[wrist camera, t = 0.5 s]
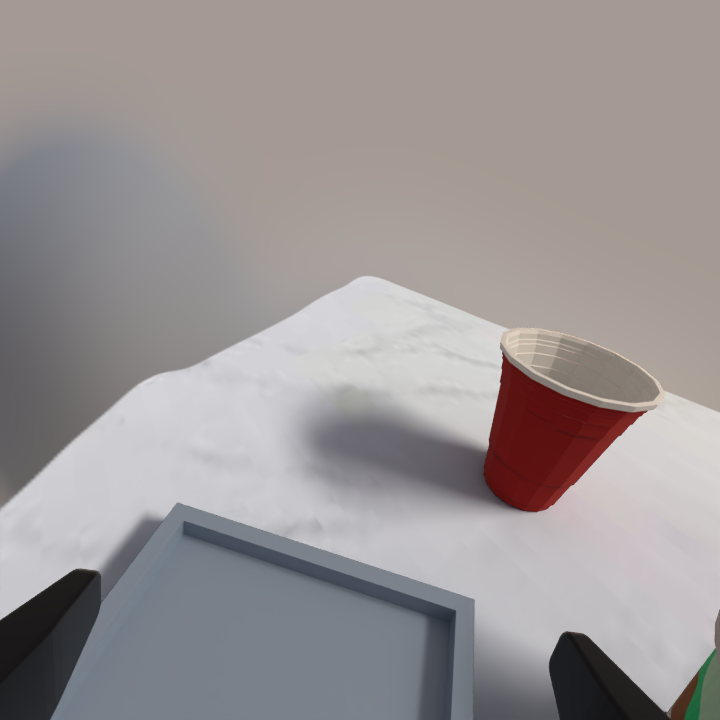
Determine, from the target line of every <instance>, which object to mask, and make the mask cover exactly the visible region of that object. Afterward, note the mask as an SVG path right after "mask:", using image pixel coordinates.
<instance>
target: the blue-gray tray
mask: <svg viewBox="0 0 720 720" xmlns="http://www.w3.org/2000/svg"><path fill="white" fill-rule="evenodd" d="M474 602H475V600H474V599H471V598H468V597H465V596H462V595H459V594H456V593H453V592H450V591H447V590H444V589H441V588H438V587H435V586H431V585H428V584H425V583H422V582H419V581H416V580H413V579H410V578H407V577H404V576H401V575H398V574H395V573H392V572H389V571H386V570H382V569H379V568H376V567H373V566H370V565H367V564H364V563H361V562H358V561H355V560H352V559H349V558H346V557H343V556H340V555H337V554H334V553H330V552H327V551H324V550H321V549H318V548H315V547H312V546H309V545H306V544H303V543H300V542H297V541H294V540H291V539H288V538H285V537H281V536H278V535H275V534H272V533H269V532H266V531H263V530H260V529H257V528H254V527H251V526H248V525H245V524H242V523H239V522H236V521H232V520H229V519H226V518H223V517H220V516H217V515H214V514H211V513H208V512H205V511H202V510H199V509H196V508H193V507H190V506H187V505H183V504H180V503H177V504H176V505H175V506H174V508H173V509H172V510H171V512H170V513H169V514H168V516H167V517H166V518H165V519H164V521H163V522H162V523H161V525H160V526H159V527H158V529H157V530H156V531H155V533H154V534H153V535H152V537H151V538H150V539H149V541H148V542H147V543H146V545H145V546H144V547H143V549H142V550H141V551H140V553H139V554H138V555H137V557H136V558H135V559H134V561H133V562H132V563H131V565H130V566H129V567H128V569H127V570H126V571H125V573H124V574H123V575H122V577H121V578H120V579H119V581H118V582H117V583H116V585H115V586H114V587H113V589H112V590H111V591H110V593H109V594H108V595H107V597H106V598H105V599H104V601H103V602H102V603H101V606H100V611H99V614H98V617H97V619H96V622H95V624H94V626H93V628H92V631H91V633H90V635H89V637H88V639H87V642H86V644H85V646H84V648H83V651H82V653H81V655H80V657H79V660H78V662H77V664H76V666H75V669H74V671H73V673H72V675H71V678H70V680H69V682H68V684H67V686H66V689H65V691H64V693H63V695H62V697H61V700H60V702H59V704H58V706H57V708H56V710H55V712H54V714H53V716H52V718H51V719H50V720H473V688H474Z"/></svg>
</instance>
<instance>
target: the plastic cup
mask: <svg viewBox="0 0 720 720" xmlns="http://www.w3.org/2000/svg"><path fill="white" fill-rule="evenodd" d="M500 349H501V350H502V354H503V357H502V359H503V363H502V374H501V379H500V383H501V385H500V390H499V395H498V399H497V404H496V409H495V413H494V418H493V423H492V427H491V432H490V437H489V447H488V452H487V456H486V460H485V465H484V469H485V471H484V476H485V479H486V482H487V485H488V486H489V487H490V489H491V490H492V491H493V492H494V494H495V495H496V496H498V497H499V498H500V499H502V500H503V501H504V502H506V503H507V504H509V505H511V506H514V507H516V508H519V509H521V510H525V511H533V512H538V511H542V510H546V509H548V508H549V507H550V506H551V505H554V503H555V502H556V501H557V500H558V499H559V498H560V497H561V496H562V495H563V494H564V493H565V491H566V490H567V489H568V488H569V487H570V486H571V485H574V484H575V483H576V482H577V481H578V480H579V478H580V477H581V476H582V475H583V474H584V473H585V472H586V471H587V470H588V469H589V468H590V466H591V465H592V464H593V463H594V462H595V461H596V460H597V459H598V458H599V457H600V456H601V454H602V453H603V452H604V451H605V450H606V449H607V448H608V447H609V446H610V445H611V444H612V443H613V441H614V440H615V439H616V438H617V437H618V436H621V435H622V434H623V433H624V431H625V430H626V429H627V428H628V427H629V426H630V425H632V424H633V423H634V422H635V421H636V420H637V419H638V417H639V416H642V415H643V414H644V413H646V412H647V411H648V410H654V409H655V408H656V407H657V406H658V405H659V404H660V403H661V401H662V400H663V399H664V397H665V396H666V394H665V392H664V391H663V389H662V387H661V385H660V383H659V382H658V381H657V380H656V379H655V378H654V377H652V376H651V375H650V374H649V373H647V372H646V371H645V370H644V369H643V368H642V367H640V366H638V365H637V364H635V363H633V362H631V361H630V360H628V359H626V358H624V357H622V356H621V355H619V354H617V353H615V352H613V351H610V350H608V349H606V348H604V347H601V346H599V345H596V344H594V343H592V342H589V341H586V340H583V339H580V338H577V337H573V336H570V335H567V334H563V333H560V332H554V331H549V330H544V329H538V328H514V329H511V330H509V331H506V332H503V334H502V338H501V343H500Z"/></svg>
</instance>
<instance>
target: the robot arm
mask: <svg viewBox="0 0 720 720" xmlns="http://www.w3.org/2000/svg"><path fill="white" fill-rule="evenodd" d="M100 606H101V576H100V573H99V572H98V571H95V570H88V569H75V570H73V571H71V572H70V573H68V574H67V575H65V576H64V577H63V578H61V579H60V580H58V581H57V582H55V583H54V584H52V585H51V586H49V587H48V588H47V589H45V590H44V591H42V592H41V593H39V594H38V595H36V596H35V597H33V598H32V599H30V600H29V601H28V602H26V603H25V604H23V605H22V606H20V607H19V608H17V609H16V610H14V611H13V612H12V613H10V614H9V615H7V616H6V617H4V618H3V619H1V620H0V720H50V719H51V718H52V716H53V714H54V712H55V710H56V708H57V706H58V704H59V702H60V700H61V697H62V695H63V693H64V691H65V689H66V686H67V684H68V682H69V680H70V678H71V675H72V673H73V671H74V669H75V666H76V664H77V662H78V660H79V657H80V655H81V653H82V651H83V648H84V646H85V644H86V642H87V639H88V637H89V635H90V633H91V631H92V628H93V626H94V624H95V622H96V619H97V617H98V614H99V611H100ZM549 672H550V677H551V681H552V686H553V690H554V695H555V699H556V704H557V708H558V713H559V717H560V720H671V719H670V718H669V717H668V716H667V715H666V714H665V713H664V712H663V711H662V710H661V709H660V708H659V707H658V706H657V705H656V704H655V703H654V702H653V701H652V700H651V699H650V698H649V697H648V696H647V695H646V694H645V693H644V692H643V691H642V690H641V689H640V688H639V687H638V686H637V685H636V684H635V683H634V682H633V681H632V680H631V679H630V678H629V677H628V676H627V675H626V674H625V673H624V672H623V671H622V670H621V669H620V668H619V667H618V666H617V665H616V664H615V663H614V662H613V661H612V660H611V659H610V658H609V657H608V656H607V655H606V654H605V653H604V652H603V651H602V650H601V649H600V648H599V647H598V646H597V645H596V644H595V643H594V642H593V641H592V640H591V639H590V638H589V637H588V636H586V635H585V634H582V633H575V632H568V631H567V632H564V633H562V635H561V636H560V638H559V640H558V643H557V645H556V647H555V649H554V651H553V653H552V655H551V658H550V662H549Z"/></svg>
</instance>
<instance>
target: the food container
mask: <svg viewBox="0 0 720 720" xmlns="http://www.w3.org/2000/svg"><path fill="white" fill-rule="evenodd" d="M715 646H716V648H715V650H714V651H713V652H712V654H711V655H710V656H709V658H708V659H707V660H706V662H705V663H704V664H703V666H702V667H701V668H700V670H699V671H698V672H697V674H696V675H695V676H694V678H693V679H692V680H691V682H690V683H689V684H688V685H687V687H686V688H685V689H684V691H683V692H682V693H681V695H680V696H679V697H678V699H677V700H676V701H675V703H674V704H673V705H672V707H671V708H670V709H669V711H668V712H667V714H666V715H667V716H668V717H669V718H670V719H671V720H720V610H719V613H718V616H717V620H716V623H715Z"/></svg>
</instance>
